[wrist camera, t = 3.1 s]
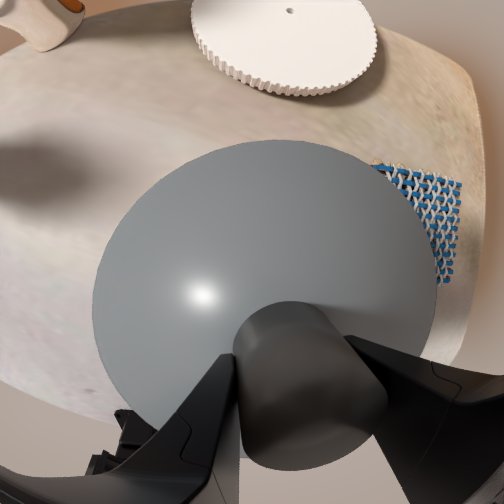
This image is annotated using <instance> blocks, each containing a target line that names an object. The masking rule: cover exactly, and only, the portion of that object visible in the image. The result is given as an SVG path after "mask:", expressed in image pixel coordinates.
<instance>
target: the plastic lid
mask: <svg viewBox="0 0 504 504" xmlns="http://www.w3.org/2000/svg"><path fill="white" fill-rule="evenodd" d="M365 9H366V8H365V7H364V6H362V3H361V2H360V1H358V0H194V2H192V7H191V22H192V28H193V32H194V37H195V38H196V42H197V44H199V48H200V49H201V50H202V49H203V54H204V55H207V57H208V60H209V61H211V60H212V61H213V65H215V66H219V70H221V71H223V70H224V71H226V74H227V75H228V76H230V75H232V76H234V77H233V79H235V80H238V79H239V80H241V83H243V84H246V83H248V84H250V87H255V86H256V87H258V89H259V90H263V89H266V90H267V92H270V93H272V91H274V92H276V94H281V93H285V95H287V96H290V94H294V96H299V95H300V94H302V95H303V96H307V95H308V94H311V96H315V95H316V94H317V93H318V94H319V95H323V94H324V93H325V92H326V93H330V92H331V91H337V90H338V89H339V88H340V89H341V88H343V87H344V86H347V85H348V84H350V83H351V82H352V81H354V80H355V79H356V78H358V77H359V76H360V75H362V73H364V72H365V71H366V70H367V68H368V67H369V66H370V63H372V62H373V60H372V59H373V58H374V57H375V55H374V54H375V53H376V51H377V50H376V49H375V48H376V47H377V44H376V42H377V39H376V38H375V37H376V36H377V34H376V33H375V31H376V29H375V28H374V27H373V26H374V23H373V22H371V20H372V18H371V17H369V13H368V12H367V11H366V10H365Z"/></svg>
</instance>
